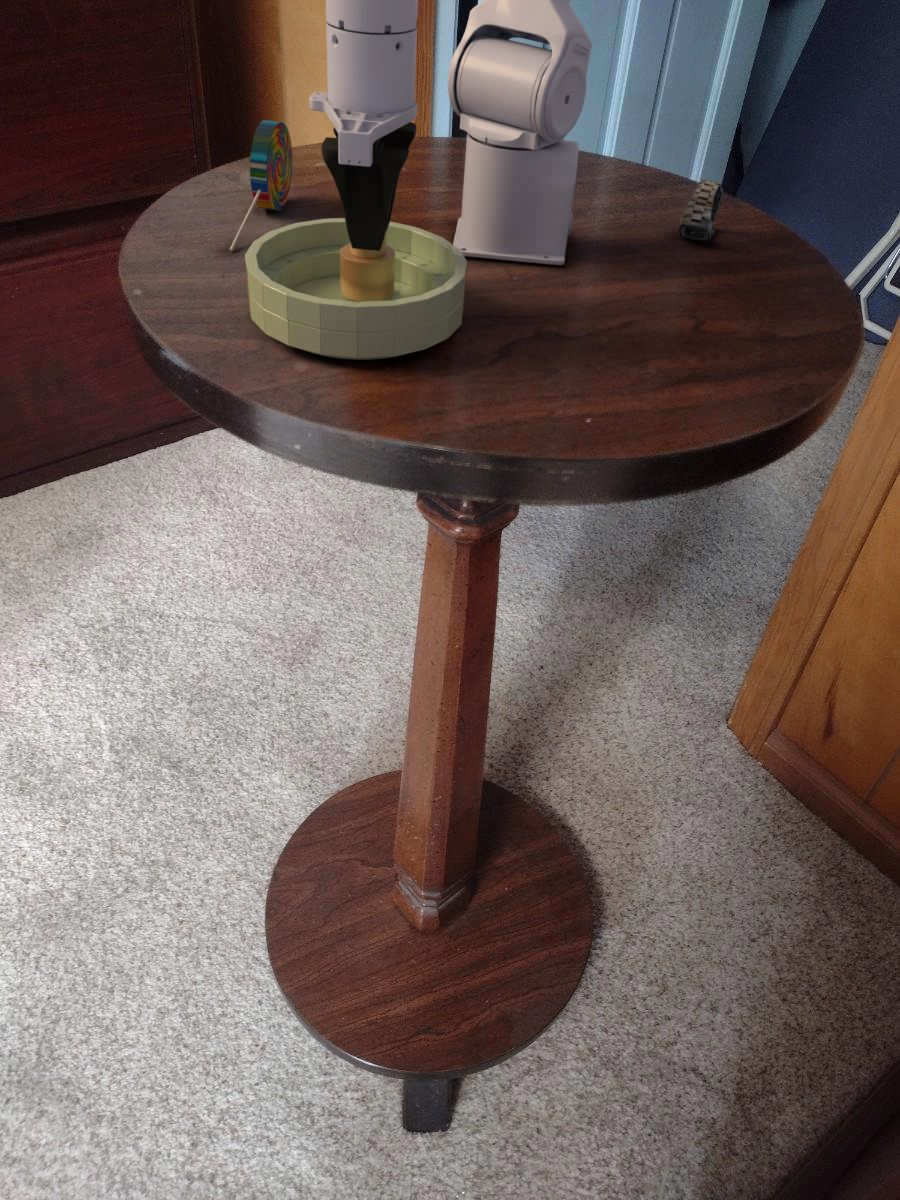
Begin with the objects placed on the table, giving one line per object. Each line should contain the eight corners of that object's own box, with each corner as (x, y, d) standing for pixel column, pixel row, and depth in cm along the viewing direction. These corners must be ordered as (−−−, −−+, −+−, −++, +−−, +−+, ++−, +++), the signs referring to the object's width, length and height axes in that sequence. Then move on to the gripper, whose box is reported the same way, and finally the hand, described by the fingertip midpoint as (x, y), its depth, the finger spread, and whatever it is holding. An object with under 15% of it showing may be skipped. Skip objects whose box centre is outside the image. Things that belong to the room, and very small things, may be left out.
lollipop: (230, 283, 82) (281, 176, 90) (246, 286, 82) (296, 178, 90) (213, 211, 76) (269, 103, 84) (231, 213, 76) (285, 105, 84)
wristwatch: (677, 247, 90) (678, 219, 85) (702, 199, 90) (705, 168, 86) (708, 259, 89) (710, 231, 85) (733, 211, 90) (737, 180, 85)
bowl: (468, 284, 78) (473, 228, 75) (453, 378, 66) (458, 316, 63) (275, 266, 78) (272, 209, 75) (226, 356, 66) (220, 293, 63)
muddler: (397, 282, 74) (400, 173, 69) (390, 305, 71) (393, 193, 66) (345, 278, 74) (344, 168, 69) (336, 300, 71) (334, 187, 66)
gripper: (328, -3, 66) (331, 199, 75) (285, 44, 55) (294, 274, 64) (430, 6, 66) (421, 207, 75) (407, 55, 55) (400, 284, 64)
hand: (369, 239), depth 70 cm, fingers closed on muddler, 2 cm apart
